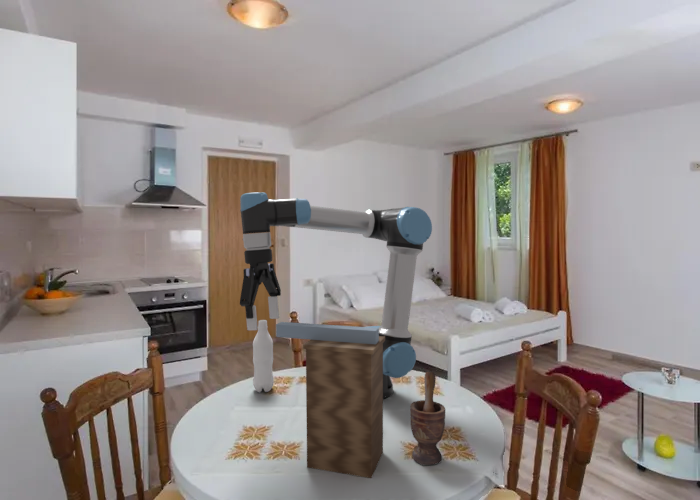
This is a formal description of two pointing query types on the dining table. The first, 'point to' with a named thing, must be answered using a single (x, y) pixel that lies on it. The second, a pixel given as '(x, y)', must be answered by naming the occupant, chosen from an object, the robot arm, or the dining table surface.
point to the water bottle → (263, 358)
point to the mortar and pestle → (427, 425)
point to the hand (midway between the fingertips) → (264, 324)
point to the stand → (344, 406)
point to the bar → (328, 332)
